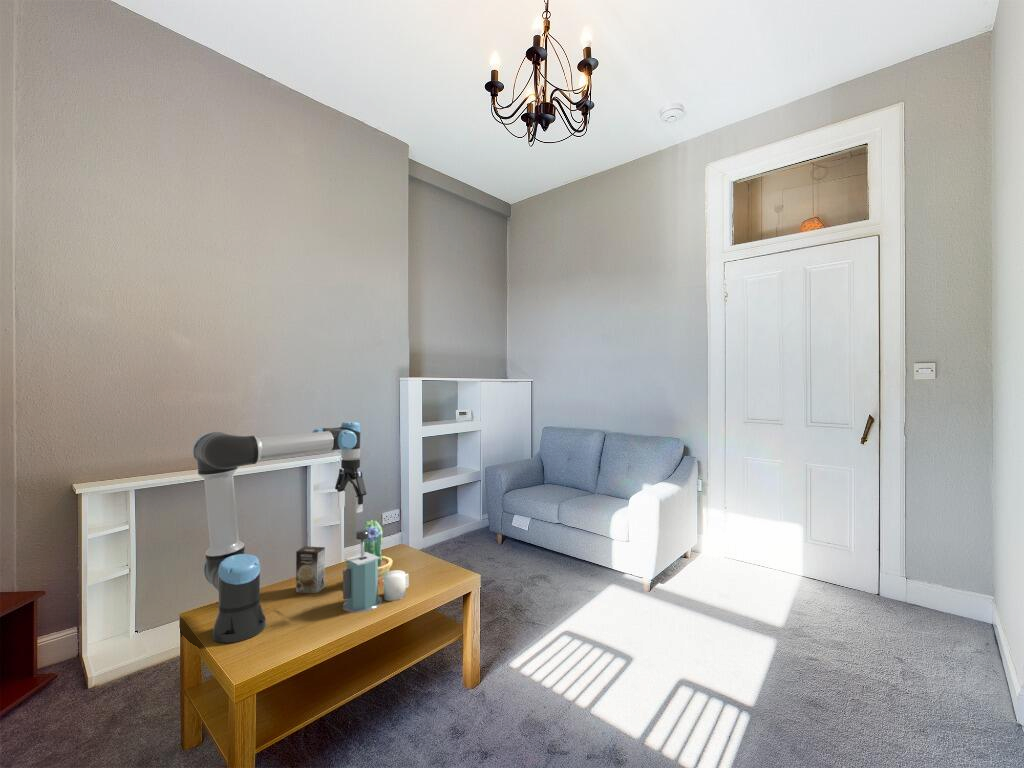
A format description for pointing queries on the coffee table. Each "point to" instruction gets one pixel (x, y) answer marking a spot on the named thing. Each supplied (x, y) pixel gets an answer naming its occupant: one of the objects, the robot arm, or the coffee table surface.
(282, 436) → the robot arm
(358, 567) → the carafe
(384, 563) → the potted cactus
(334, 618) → the coffee table surface
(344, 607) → the trivet
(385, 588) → the mug
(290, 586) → the coffee table surface
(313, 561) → the coffee box
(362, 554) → the plunger
